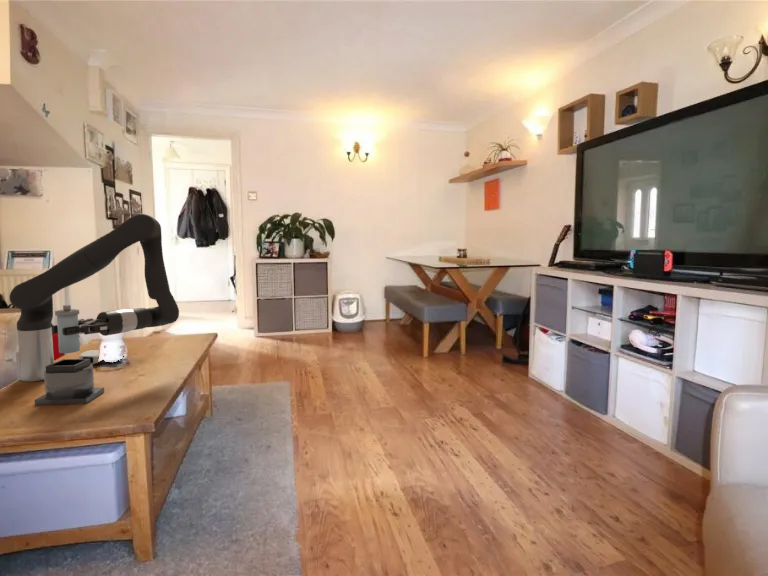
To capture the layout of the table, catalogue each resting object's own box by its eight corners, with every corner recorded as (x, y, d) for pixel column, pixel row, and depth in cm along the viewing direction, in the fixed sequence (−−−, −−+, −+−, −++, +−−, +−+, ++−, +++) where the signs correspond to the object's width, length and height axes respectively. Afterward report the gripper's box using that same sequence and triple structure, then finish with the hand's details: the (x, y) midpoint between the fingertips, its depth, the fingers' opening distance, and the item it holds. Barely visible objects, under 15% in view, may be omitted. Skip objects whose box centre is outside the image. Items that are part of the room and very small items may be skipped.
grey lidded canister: (52, 353, 128) (49, 306, 126) (65, 348, 134) (62, 303, 132) (74, 353, 128) (71, 307, 127) (85, 348, 134) (83, 304, 133)
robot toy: (128, 360, 180) (86, 359, 176) (129, 349, 180) (87, 348, 176) (118, 368, 168) (73, 368, 164) (119, 357, 168) (73, 356, 164)
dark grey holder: (32, 406, 127) (29, 368, 126) (62, 389, 141) (60, 356, 140) (84, 404, 129) (82, 367, 128) (109, 388, 143) (107, 355, 141)
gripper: (103, 308, 146) (44, 315, 131) (130, 312, 139) (70, 320, 124) (105, 330, 147) (45, 340, 132) (131, 336, 140) (72, 346, 125)
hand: (58, 330), depth 128 cm, fingers closed on grey lidded canister, 5 cm apart
